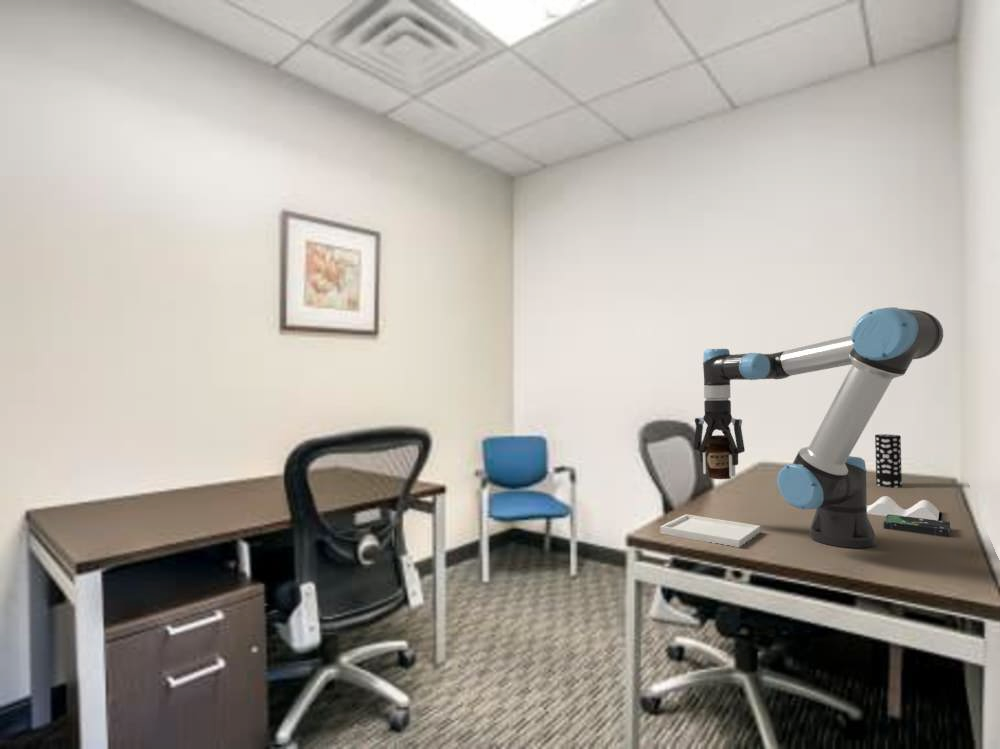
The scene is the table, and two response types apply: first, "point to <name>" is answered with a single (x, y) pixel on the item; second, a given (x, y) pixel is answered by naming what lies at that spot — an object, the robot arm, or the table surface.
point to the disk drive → (917, 525)
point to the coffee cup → (718, 456)
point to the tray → (711, 530)
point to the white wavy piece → (917, 511)
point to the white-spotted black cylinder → (888, 460)
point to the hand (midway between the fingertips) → (719, 474)
